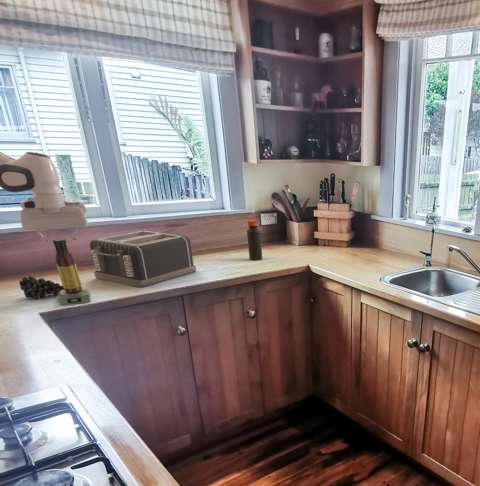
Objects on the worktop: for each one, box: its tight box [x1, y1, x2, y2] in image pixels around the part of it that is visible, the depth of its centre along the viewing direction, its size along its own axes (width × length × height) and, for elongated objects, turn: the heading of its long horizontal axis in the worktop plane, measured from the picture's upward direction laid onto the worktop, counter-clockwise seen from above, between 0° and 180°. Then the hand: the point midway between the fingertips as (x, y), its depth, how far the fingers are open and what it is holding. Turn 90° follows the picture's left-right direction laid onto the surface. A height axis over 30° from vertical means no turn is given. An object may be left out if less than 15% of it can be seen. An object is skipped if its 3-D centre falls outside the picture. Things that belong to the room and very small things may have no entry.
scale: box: [57, 287, 92, 306], centre depth 181 cm, size 10×11×3 cm
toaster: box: [89, 230, 197, 289], centre depth 211 cm, size 30×36×17 cm
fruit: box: [18, 275, 64, 300], centre depth 184 cm, size 9×8×15 cm
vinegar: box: [246, 219, 263, 261], centre depth 245 cm, size 7×7×20 cm
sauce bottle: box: [52, 238, 83, 292], centre depth 176 cm, size 6×6×20 cm
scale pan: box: [59, 286, 88, 296], centre depth 181 cm, size 9×9×1 cm
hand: (60, 240), depth 172 cm, fingers open, 8 cm apart
